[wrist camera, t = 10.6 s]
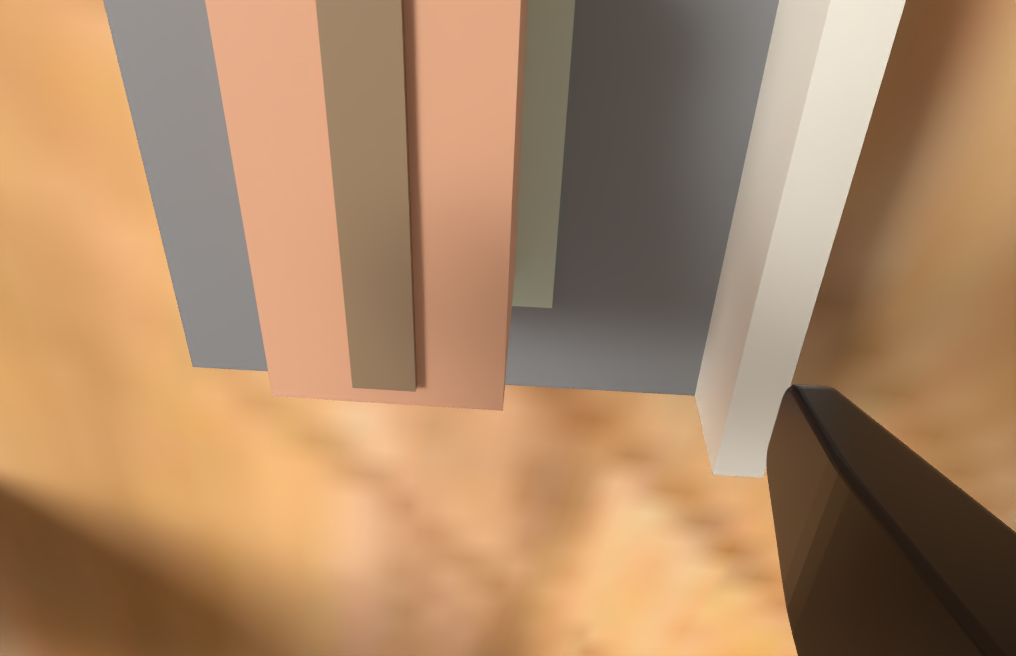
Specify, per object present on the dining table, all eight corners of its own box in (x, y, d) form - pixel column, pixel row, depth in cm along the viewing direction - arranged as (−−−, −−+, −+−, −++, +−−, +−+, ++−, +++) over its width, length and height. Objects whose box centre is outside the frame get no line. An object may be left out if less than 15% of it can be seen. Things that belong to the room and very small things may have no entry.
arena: (881, -235, 14) (978, -242, 11) (732, 375, 22) (762, 477, 19) (66, -265, 15) (-76, -281, 11) (206, 345, 23) (146, 441, 19)
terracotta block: (514, 278, 19) (502, 417, 15) (332, 267, 19) (269, 402, 15) (531, -87, 15) (522, -36, 11) (295, -98, 15) (189, -53, 11)
